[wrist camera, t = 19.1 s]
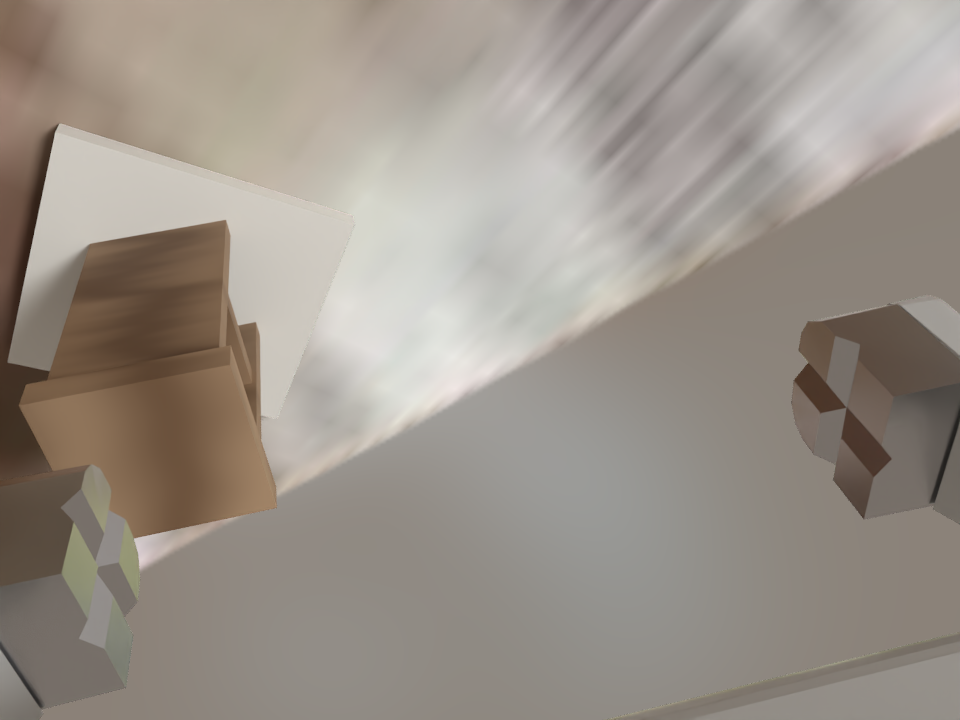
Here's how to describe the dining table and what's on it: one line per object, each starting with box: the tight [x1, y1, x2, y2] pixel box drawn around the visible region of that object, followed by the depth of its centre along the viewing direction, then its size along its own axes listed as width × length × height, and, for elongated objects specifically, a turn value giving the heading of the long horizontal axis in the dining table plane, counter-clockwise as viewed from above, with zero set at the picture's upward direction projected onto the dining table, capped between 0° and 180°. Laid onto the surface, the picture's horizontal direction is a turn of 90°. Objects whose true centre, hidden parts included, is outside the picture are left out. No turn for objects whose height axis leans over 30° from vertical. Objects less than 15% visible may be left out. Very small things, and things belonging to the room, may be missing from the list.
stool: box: [19, 220, 277, 538], centre depth 37 cm, size 7×7×12 cm
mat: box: [8, 123, 355, 419], centre depth 42 cm, size 13×12×1 cm
